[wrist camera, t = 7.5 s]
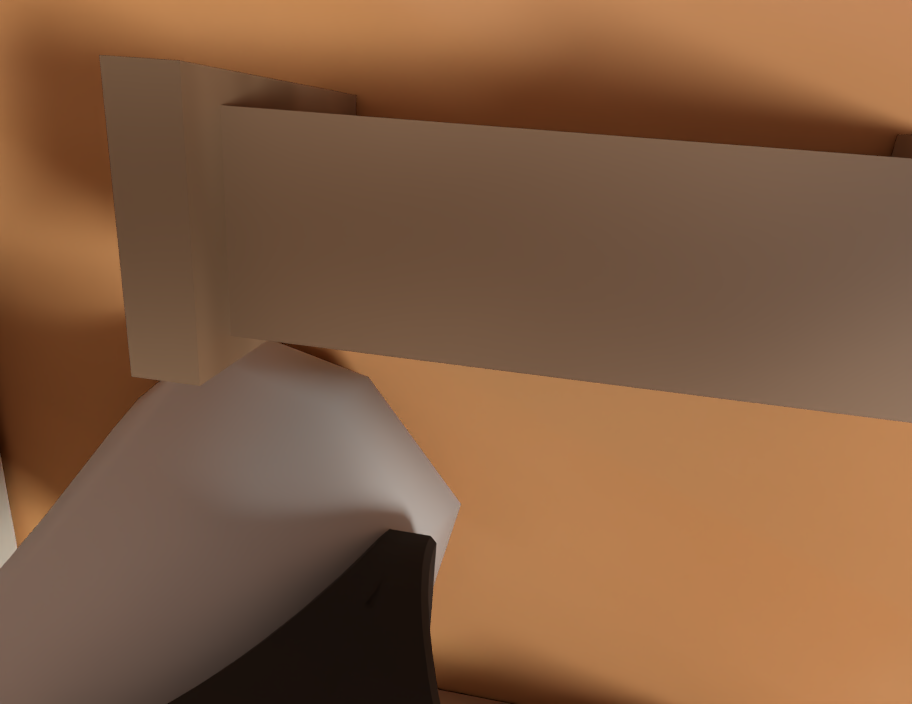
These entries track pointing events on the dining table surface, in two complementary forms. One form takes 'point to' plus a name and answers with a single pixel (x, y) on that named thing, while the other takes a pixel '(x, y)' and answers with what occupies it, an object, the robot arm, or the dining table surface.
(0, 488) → the stop
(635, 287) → the housing
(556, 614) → the dining table surface
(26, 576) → the flask
